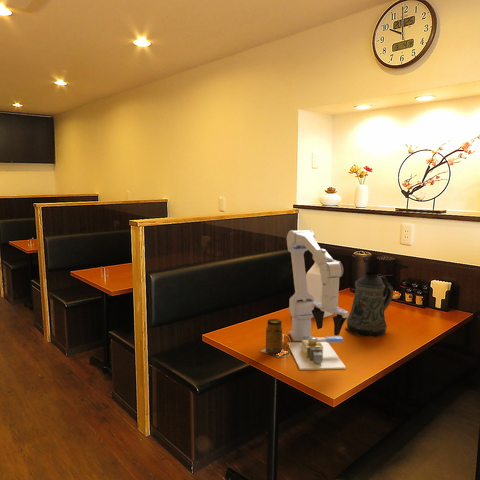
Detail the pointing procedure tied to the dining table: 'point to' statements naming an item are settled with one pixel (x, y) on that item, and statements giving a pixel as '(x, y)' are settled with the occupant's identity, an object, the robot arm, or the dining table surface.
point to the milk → (315, 285)
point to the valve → (312, 350)
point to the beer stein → (370, 306)
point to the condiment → (273, 337)
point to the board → (328, 361)
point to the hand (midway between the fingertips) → (328, 331)
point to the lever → (325, 339)
